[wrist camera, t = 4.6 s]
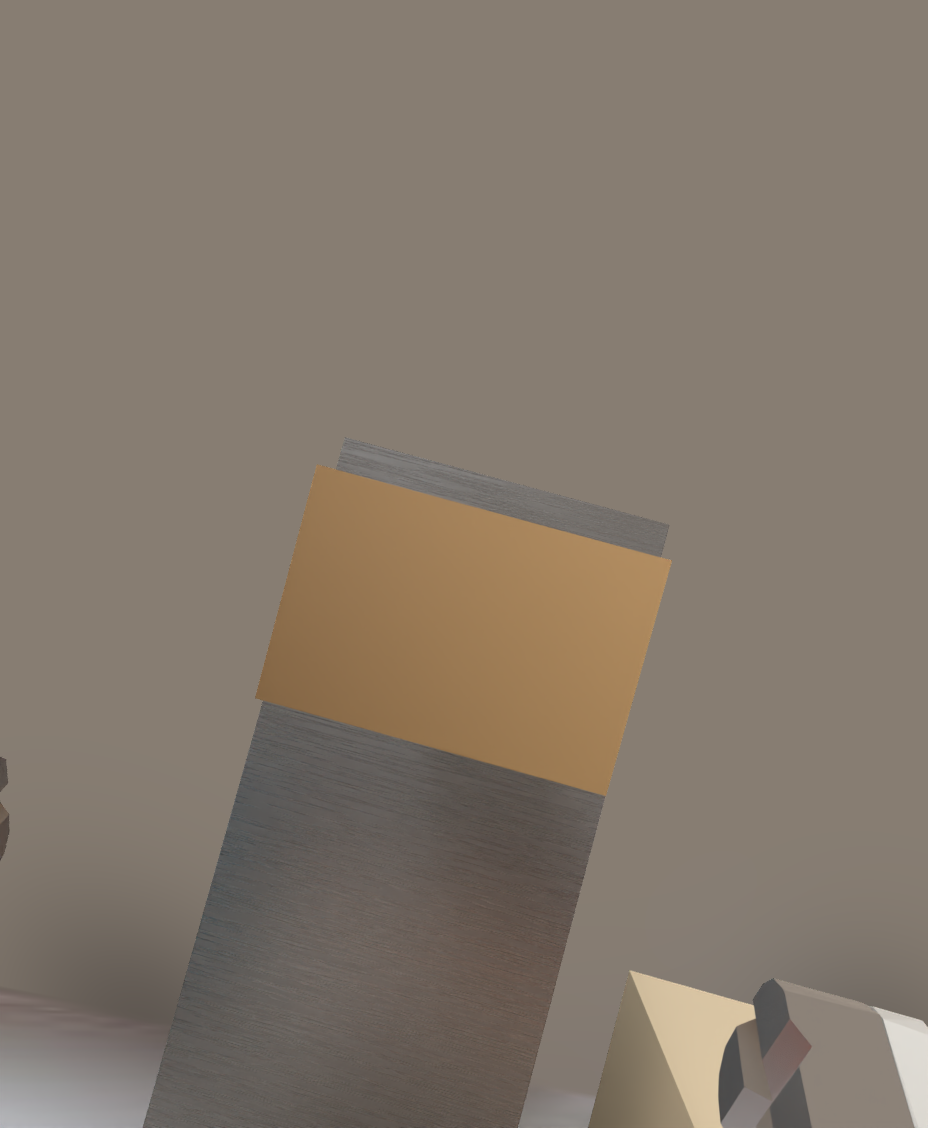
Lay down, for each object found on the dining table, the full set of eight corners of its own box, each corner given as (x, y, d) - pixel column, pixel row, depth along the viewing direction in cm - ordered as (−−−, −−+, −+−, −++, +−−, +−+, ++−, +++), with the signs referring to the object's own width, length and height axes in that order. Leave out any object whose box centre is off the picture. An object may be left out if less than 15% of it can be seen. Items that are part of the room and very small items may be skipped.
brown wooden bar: (605, 795, 7) (672, 561, 7) (255, 697, 7) (316, 463, 7) (521, 603, 29) (537, 546, 29) (435, 580, 29) (450, 522, 29)
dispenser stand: (424, 1767, 20) (747, 533, 21) (-70, 1613, 20) (274, 405, 21) (446, 1288, 34) (640, 561, 35) (153, 1201, 34) (354, 483, 35)
